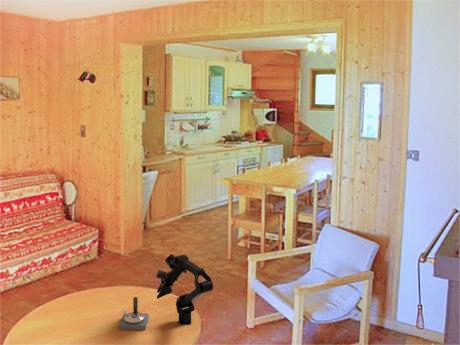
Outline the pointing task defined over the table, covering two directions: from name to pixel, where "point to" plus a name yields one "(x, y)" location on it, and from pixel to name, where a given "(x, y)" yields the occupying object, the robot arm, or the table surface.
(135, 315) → the grey round part
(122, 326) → the post base
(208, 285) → the robot arm
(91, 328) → the table surface
